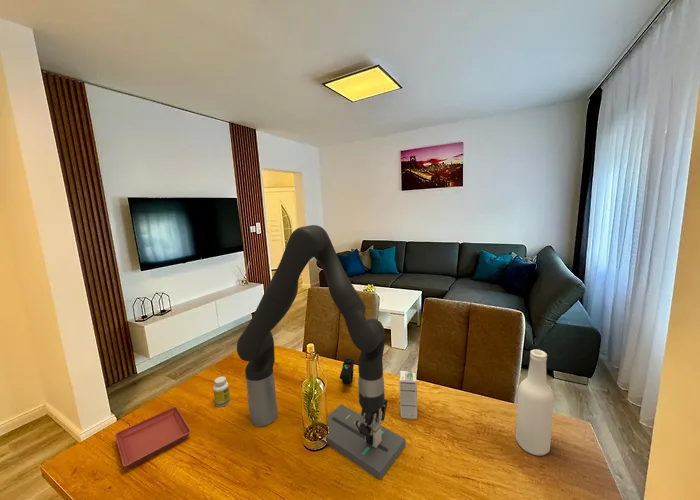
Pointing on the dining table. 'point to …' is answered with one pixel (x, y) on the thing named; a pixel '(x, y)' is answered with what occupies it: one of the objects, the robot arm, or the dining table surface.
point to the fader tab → (376, 434)
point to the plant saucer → (151, 436)
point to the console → (362, 442)
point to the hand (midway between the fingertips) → (373, 439)
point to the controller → (347, 371)
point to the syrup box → (408, 394)
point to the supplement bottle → (221, 392)
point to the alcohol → (535, 407)
